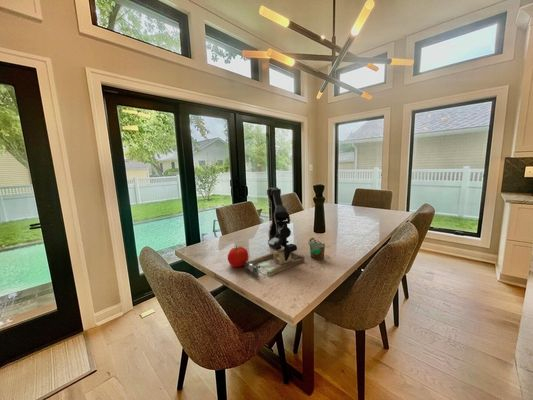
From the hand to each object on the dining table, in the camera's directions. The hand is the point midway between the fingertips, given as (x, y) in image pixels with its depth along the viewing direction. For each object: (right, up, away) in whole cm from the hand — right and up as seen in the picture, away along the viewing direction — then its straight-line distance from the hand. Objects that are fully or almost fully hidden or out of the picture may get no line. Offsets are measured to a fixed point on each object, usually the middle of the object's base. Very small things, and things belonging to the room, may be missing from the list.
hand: (282, 258), depth 126 cm
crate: (0, -1, 0) cm, 1 cm away
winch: (-15, -4, -12) cm, 20 cm away
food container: (+19, 0, +3) cm, 19 cm away
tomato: (-25, -3, -3) cm, 25 cm away
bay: (-4, -2, -3) cm, 5 cm away
